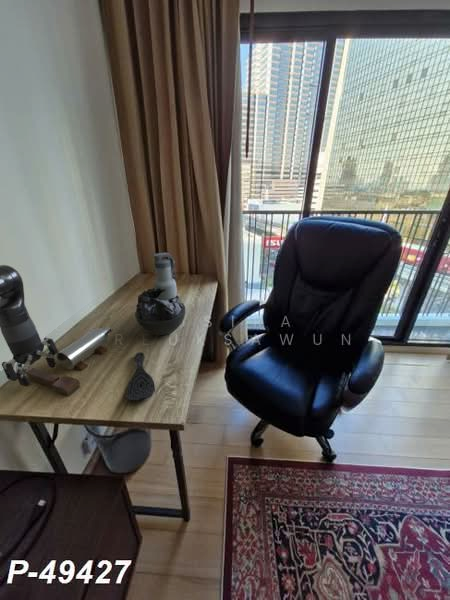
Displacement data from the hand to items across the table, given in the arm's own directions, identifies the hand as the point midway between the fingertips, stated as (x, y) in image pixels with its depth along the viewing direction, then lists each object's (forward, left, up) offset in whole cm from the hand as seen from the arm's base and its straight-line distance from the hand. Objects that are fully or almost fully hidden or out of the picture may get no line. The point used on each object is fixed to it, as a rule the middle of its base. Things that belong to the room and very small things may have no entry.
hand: (40, 375), depth 80 cm
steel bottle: (+4, +15, -2) cm, 16 cm away
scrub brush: (+5, 0, -2) cm, 5 cm away
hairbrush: (+29, +12, -2) cm, 32 cm away
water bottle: (+13, +55, -2) cm, 57 cm away
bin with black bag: (+21, +38, -2) cm, 44 cm away
